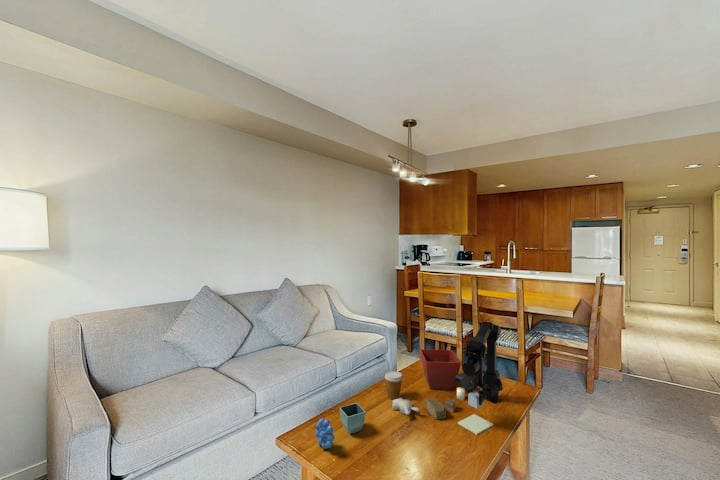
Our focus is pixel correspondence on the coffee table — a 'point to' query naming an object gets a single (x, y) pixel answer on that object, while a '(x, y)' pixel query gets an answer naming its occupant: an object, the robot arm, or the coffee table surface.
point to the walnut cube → (450, 405)
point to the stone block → (435, 408)
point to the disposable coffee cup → (393, 384)
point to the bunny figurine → (403, 406)
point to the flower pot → (352, 417)
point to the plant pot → (440, 368)
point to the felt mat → (475, 424)
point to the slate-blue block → (474, 400)
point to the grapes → (324, 433)
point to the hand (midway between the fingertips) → (475, 402)
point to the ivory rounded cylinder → (460, 393)
